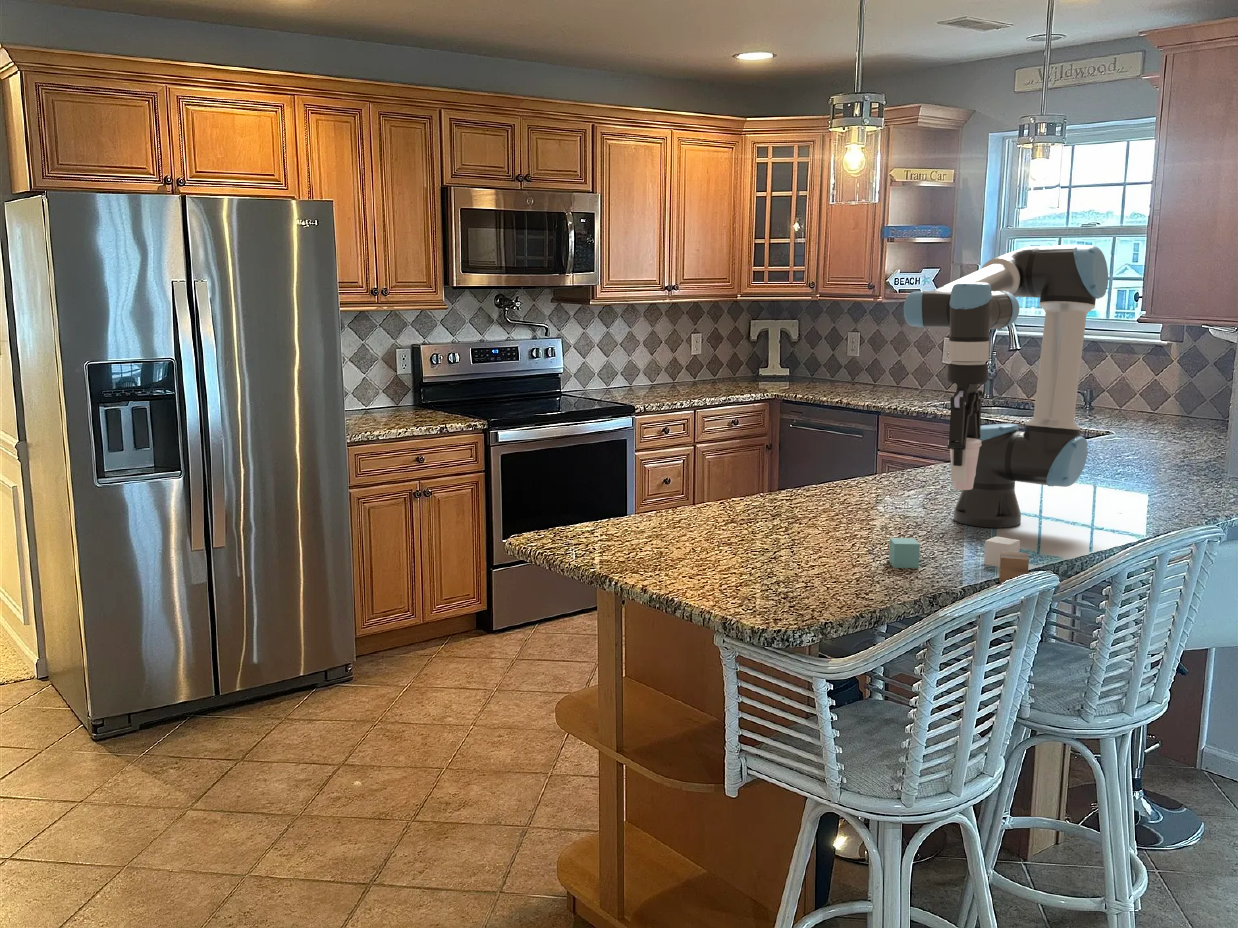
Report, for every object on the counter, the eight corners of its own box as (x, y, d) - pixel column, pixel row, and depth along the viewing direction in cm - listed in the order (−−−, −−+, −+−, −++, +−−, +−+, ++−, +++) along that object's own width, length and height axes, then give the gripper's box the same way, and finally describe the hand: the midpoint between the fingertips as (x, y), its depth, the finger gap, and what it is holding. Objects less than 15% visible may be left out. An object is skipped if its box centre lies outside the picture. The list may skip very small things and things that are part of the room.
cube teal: (888, 561, 220) (889, 537, 219) (913, 561, 220) (914, 538, 219) (893, 568, 215) (894, 543, 214) (918, 568, 215) (919, 544, 214)
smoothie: (941, 489, 214) (943, 419, 211) (953, 483, 219) (955, 415, 216) (973, 492, 210) (975, 422, 207) (984, 486, 215) (987, 417, 212)
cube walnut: (999, 576, 209) (1000, 551, 208) (1026, 578, 207) (1028, 553, 207) (999, 583, 204) (1000, 557, 203) (1027, 585, 203) (1029, 559, 202)
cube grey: (994, 559, 221) (996, 536, 220) (1018, 564, 218) (1020, 540, 217) (984, 564, 218) (985, 540, 217) (1007, 569, 214) (1009, 544, 213)
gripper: (962, 358, 219) (958, 468, 224) (933, 366, 204) (929, 485, 208) (1000, 359, 215) (995, 472, 220) (973, 367, 200) (968, 489, 204)
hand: (963, 478), depth 214 cm, fingers closed on smoothie, 6 cm apart
